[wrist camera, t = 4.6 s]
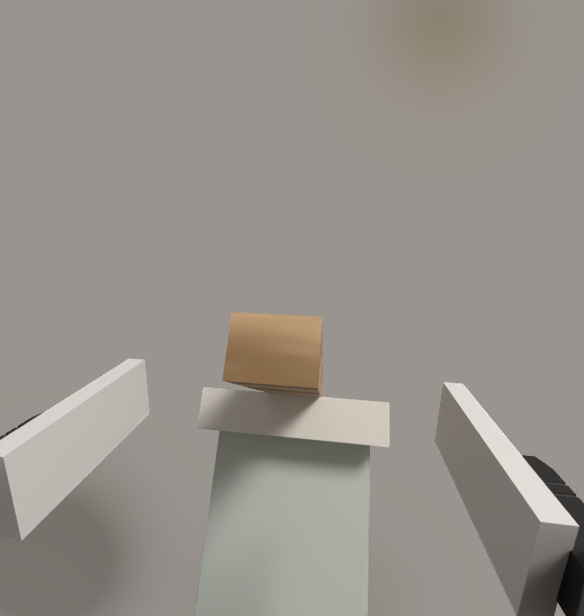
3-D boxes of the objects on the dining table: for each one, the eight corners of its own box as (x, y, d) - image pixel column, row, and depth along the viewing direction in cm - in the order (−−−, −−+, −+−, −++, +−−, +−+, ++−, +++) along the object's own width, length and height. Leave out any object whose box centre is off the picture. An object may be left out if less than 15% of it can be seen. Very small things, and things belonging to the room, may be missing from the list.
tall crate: (390, 1071, 15) (389, 402, 24) (110, 986, 17) (203, 387, 25) (353, 702, 34) (359, 404, 43) (223, 678, 36) (254, 395, 44)
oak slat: (317, 388, 13) (322, 317, 14) (222, 380, 14) (232, 312, 15) (321, 401, 42) (322, 377, 43) (290, 398, 42) (292, 375, 43)
